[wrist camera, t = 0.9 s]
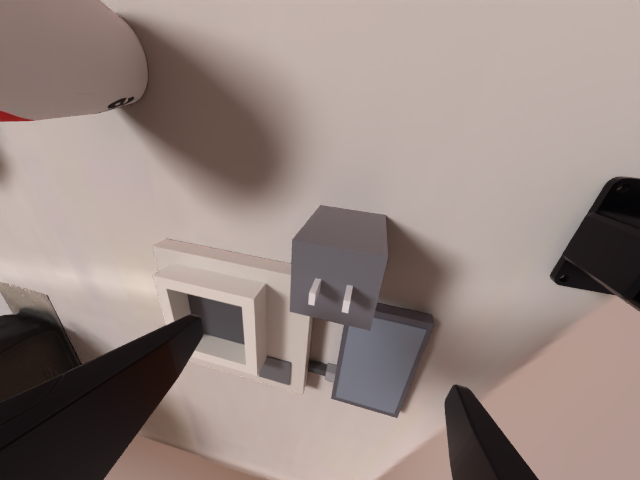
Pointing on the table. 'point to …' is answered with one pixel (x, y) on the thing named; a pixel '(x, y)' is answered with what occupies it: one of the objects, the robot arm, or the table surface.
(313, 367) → the black and grey bar
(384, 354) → the phone
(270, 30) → the table surface
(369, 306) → the charger block
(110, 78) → the cup
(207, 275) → the outlet plate
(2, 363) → the shoulder bag
